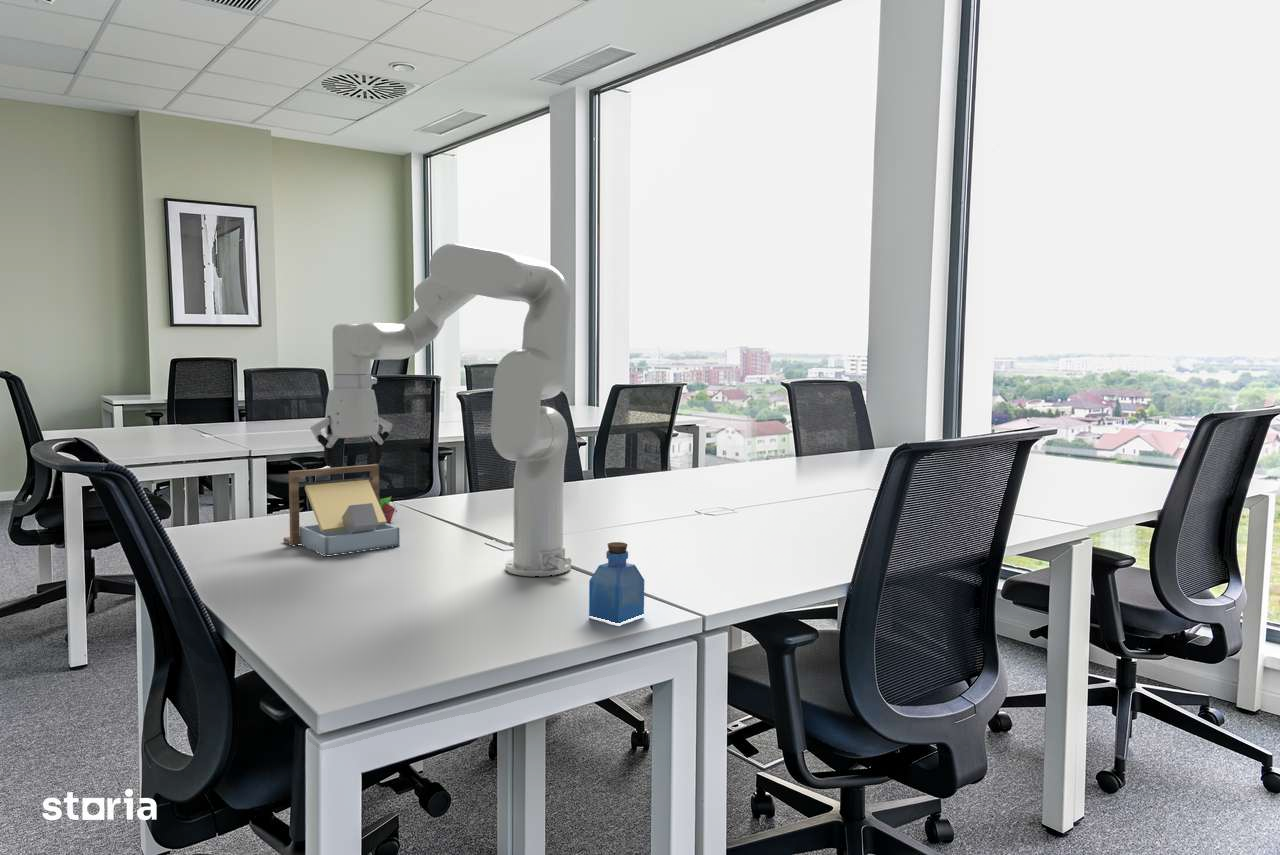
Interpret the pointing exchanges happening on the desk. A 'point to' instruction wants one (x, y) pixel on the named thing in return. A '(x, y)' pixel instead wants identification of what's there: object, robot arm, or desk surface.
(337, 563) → the desk surface
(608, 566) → the perfume bottle
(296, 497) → the bracket
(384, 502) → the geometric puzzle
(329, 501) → the flap
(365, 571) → the desk surface
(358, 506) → the gray cube
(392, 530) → the tray
